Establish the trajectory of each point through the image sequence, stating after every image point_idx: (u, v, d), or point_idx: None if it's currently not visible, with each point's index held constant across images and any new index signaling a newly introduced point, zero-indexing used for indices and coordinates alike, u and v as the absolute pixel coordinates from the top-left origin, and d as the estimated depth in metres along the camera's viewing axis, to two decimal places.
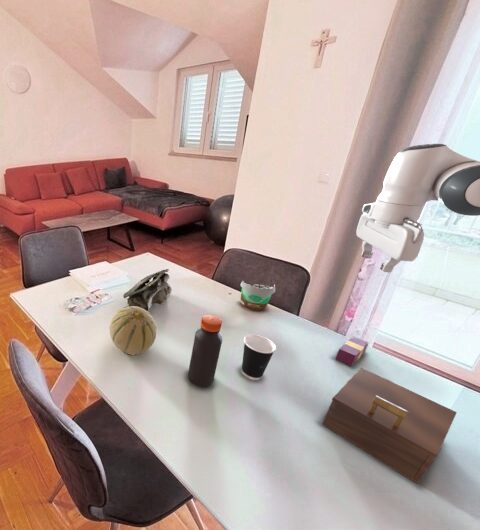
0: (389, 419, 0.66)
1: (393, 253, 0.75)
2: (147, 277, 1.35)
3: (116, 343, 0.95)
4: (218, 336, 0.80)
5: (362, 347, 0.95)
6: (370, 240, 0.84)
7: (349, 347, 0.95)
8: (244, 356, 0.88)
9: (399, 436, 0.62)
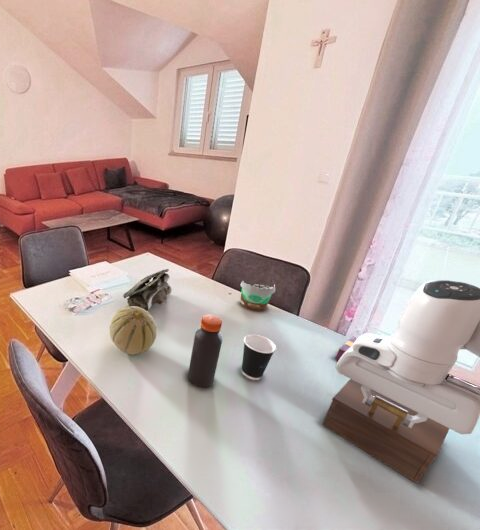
0: (389, 419, 0.66)
1: (453, 425, 0.56)
2: (147, 277, 1.35)
3: (116, 343, 0.95)
4: (218, 336, 0.80)
5: None
6: (380, 389, 0.64)
7: (349, 347, 0.95)
8: (244, 356, 0.88)
9: (399, 436, 0.62)
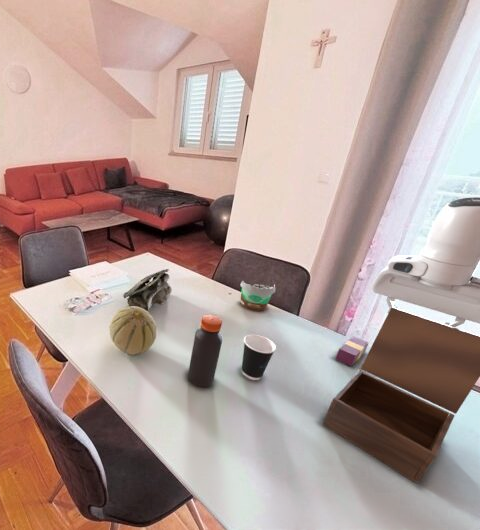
0: None
1: (477, 318, 0.67)
2: (147, 277, 1.35)
3: (116, 343, 0.95)
4: (218, 336, 0.80)
5: (362, 347, 0.95)
6: (412, 299, 0.74)
7: (349, 347, 0.95)
8: (244, 356, 0.88)
9: (462, 330, 0.66)
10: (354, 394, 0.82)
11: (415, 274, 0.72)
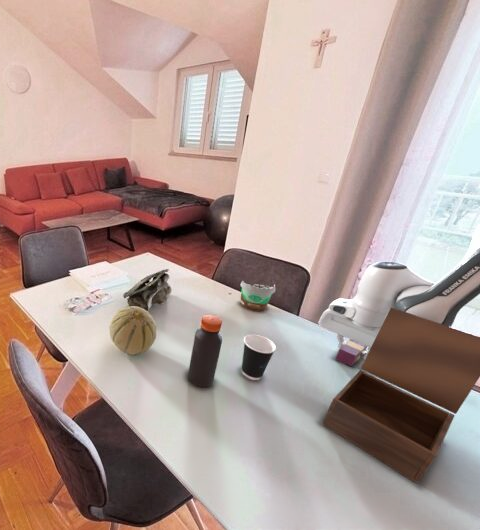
0: None
1: None
2: (147, 277, 1.35)
3: (116, 343, 0.95)
4: (218, 336, 0.80)
5: (362, 347, 0.95)
6: (347, 335, 0.95)
7: (349, 347, 0.95)
8: (244, 356, 0.88)
9: None
10: (354, 394, 0.82)
11: (347, 316, 0.92)
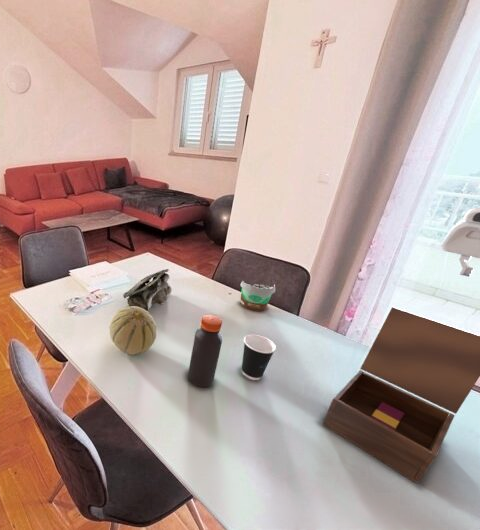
0: None
1: None
2: (147, 277, 1.35)
3: (116, 343, 0.95)
4: (218, 336, 0.80)
5: (396, 422, 0.70)
6: None
7: None
8: (244, 356, 0.88)
9: (462, 330, 0.67)
10: (354, 394, 0.82)
11: None
